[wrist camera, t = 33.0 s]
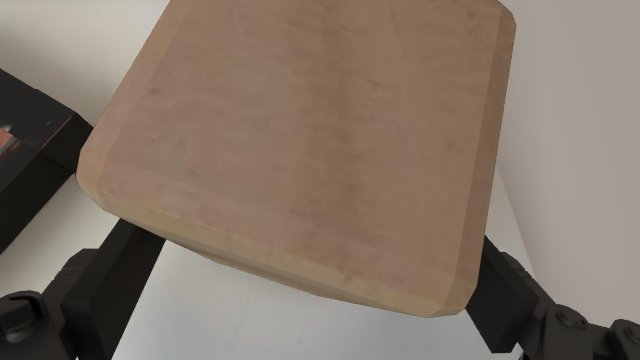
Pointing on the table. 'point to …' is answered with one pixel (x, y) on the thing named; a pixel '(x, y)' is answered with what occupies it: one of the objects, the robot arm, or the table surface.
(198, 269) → the table surface
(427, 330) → the table surface
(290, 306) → the table surface
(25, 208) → the book
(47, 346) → the robot arm
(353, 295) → the wooden block
